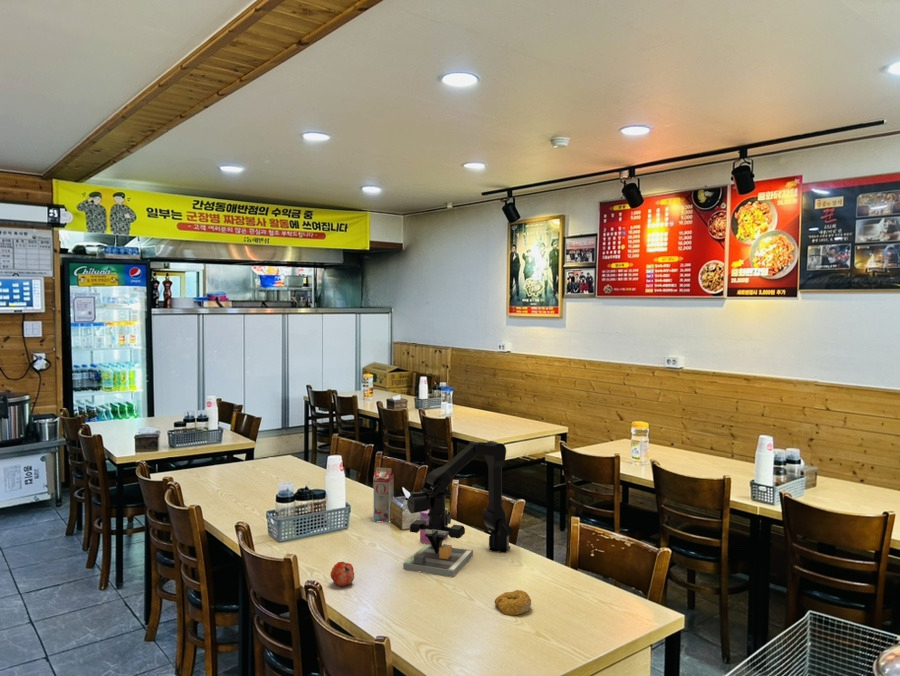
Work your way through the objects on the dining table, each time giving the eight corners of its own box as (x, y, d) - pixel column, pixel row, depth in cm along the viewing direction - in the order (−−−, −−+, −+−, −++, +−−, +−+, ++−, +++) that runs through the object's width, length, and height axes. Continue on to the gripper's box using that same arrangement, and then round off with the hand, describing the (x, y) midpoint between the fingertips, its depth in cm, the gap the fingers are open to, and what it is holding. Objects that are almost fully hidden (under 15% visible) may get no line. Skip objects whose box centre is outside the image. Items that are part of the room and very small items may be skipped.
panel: (472, 556, 227) (472, 543, 227) (453, 577, 208) (453, 563, 208) (426, 549, 234) (426, 537, 233) (403, 569, 215) (403, 556, 215)
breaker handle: (451, 555, 221) (451, 544, 221) (447, 559, 218) (447, 548, 218) (443, 554, 222) (443, 543, 222) (439, 558, 219) (439, 547, 219)
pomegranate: (327, 591, 203) (335, 581, 195) (326, 568, 207) (334, 557, 200) (350, 590, 206) (358, 580, 198) (348, 567, 210) (357, 556, 203)
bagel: (506, 597, 194) (506, 582, 194) (537, 608, 187) (537, 592, 187) (487, 609, 186) (487, 593, 186) (519, 621, 179) (519, 604, 179)
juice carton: (388, 522, 264) (389, 470, 263) (373, 521, 265) (373, 469, 264) (393, 518, 270) (393, 466, 269) (378, 517, 271) (378, 465, 271)
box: (431, 545, 237) (431, 514, 237) (419, 542, 241) (419, 511, 240) (448, 538, 246) (448, 507, 245) (436, 535, 249) (436, 505, 249)
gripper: (470, 505, 225) (470, 548, 226) (421, 499, 232) (421, 542, 232) (459, 514, 215) (459, 560, 215) (408, 508, 221) (408, 552, 222)
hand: (437, 553), depth 221 cm, fingers closed
